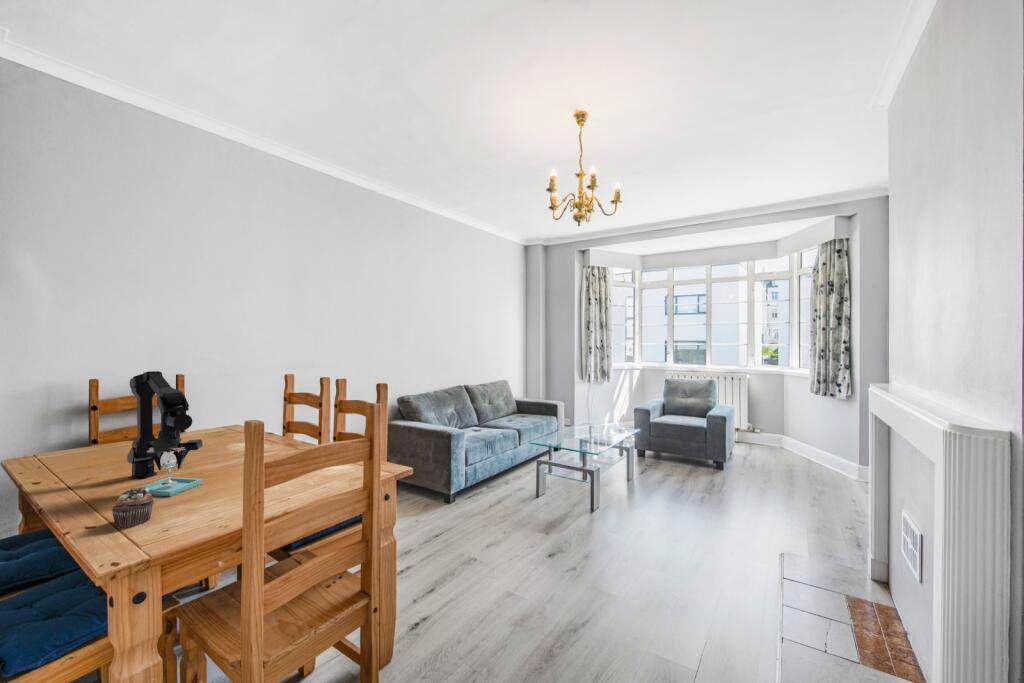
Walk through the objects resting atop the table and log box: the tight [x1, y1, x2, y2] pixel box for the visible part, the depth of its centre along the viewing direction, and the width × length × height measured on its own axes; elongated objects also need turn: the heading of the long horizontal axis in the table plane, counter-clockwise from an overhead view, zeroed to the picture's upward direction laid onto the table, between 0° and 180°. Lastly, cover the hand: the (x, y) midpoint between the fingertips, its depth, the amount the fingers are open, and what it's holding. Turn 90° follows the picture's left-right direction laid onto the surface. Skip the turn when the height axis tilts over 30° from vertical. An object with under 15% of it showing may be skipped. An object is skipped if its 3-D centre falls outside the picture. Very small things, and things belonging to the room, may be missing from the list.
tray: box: [135, 476, 203, 498], centre depth 159 cm, size 14×14×2 cm
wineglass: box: [160, 448, 180, 485], centre depth 159 cm, size 6×6×12 cm
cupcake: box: [111, 487, 155, 528], centre depth 131 cm, size 10×10×10 cm
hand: (169, 469), depth 159 cm, fingers closed on wineglass, 5 cm apart
